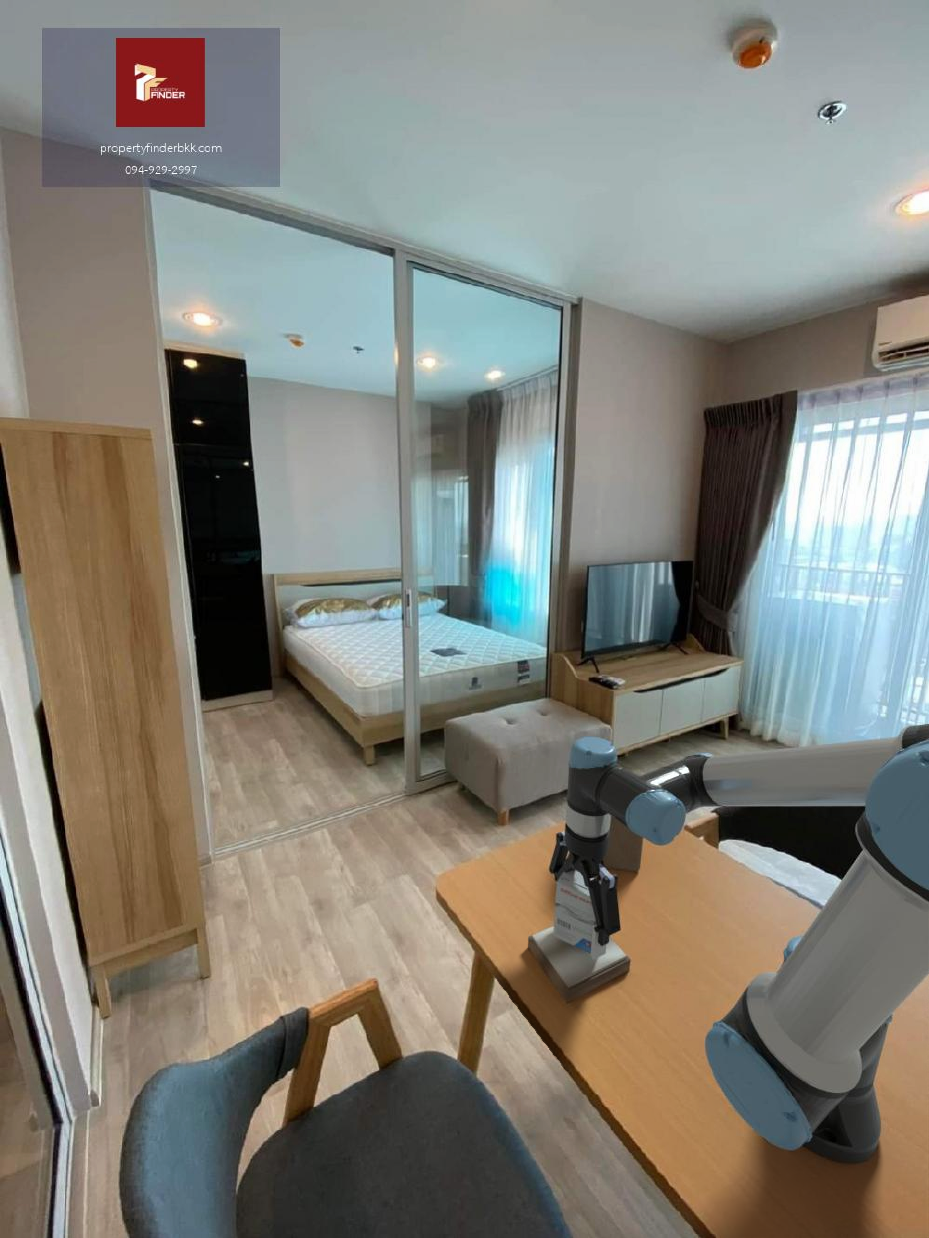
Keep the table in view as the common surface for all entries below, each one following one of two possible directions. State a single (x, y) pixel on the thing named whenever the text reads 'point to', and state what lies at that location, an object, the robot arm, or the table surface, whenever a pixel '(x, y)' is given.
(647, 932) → the table surface
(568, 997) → the stand
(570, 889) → the ink box
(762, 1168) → the table surface
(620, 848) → the wooden block
